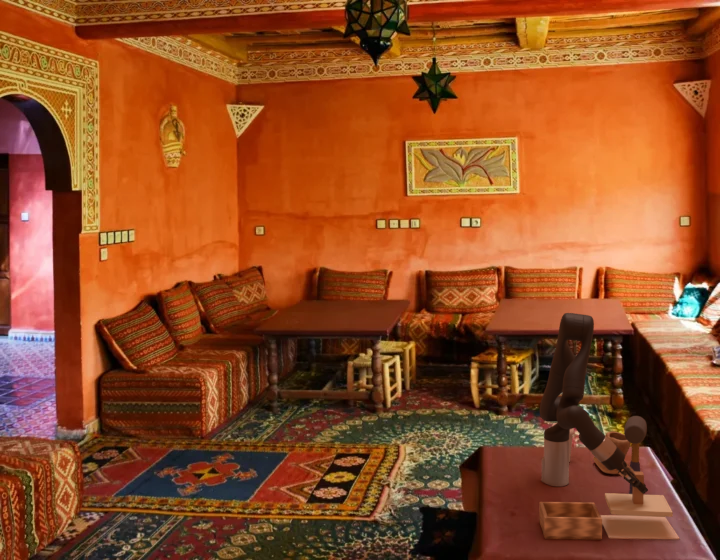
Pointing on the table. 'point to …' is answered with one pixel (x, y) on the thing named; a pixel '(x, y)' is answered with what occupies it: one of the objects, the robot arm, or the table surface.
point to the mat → (638, 527)
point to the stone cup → (620, 443)
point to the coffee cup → (569, 440)
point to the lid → (638, 503)
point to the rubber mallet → (635, 440)
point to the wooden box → (570, 520)
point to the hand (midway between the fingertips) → (644, 489)
